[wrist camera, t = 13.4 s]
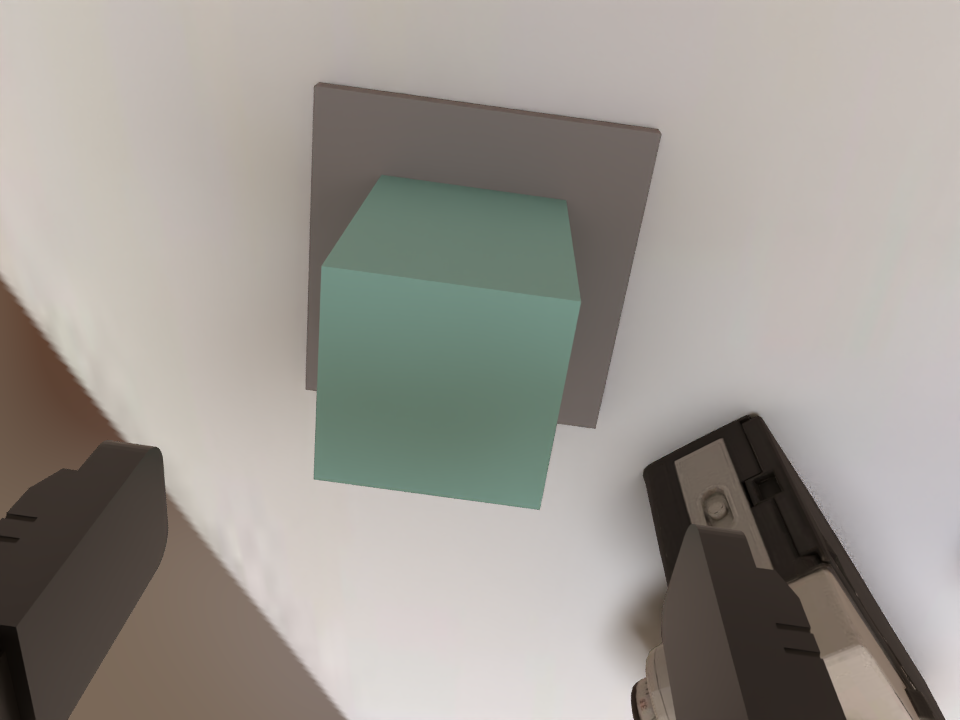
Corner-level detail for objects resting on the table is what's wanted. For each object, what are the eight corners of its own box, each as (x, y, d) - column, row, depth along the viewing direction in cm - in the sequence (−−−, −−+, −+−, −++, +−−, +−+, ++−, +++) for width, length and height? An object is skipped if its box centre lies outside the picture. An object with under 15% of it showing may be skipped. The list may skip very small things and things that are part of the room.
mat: (319, 82, 21) (314, 86, 21) (658, 129, 21) (661, 134, 21) (310, 380, 25) (305, 389, 25) (594, 418, 25) (595, 428, 25)
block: (381, 174, 22) (321, 266, 15) (566, 200, 22) (580, 301, 15) (370, 341, 24) (313, 479, 18) (536, 363, 24) (539, 509, 18)
